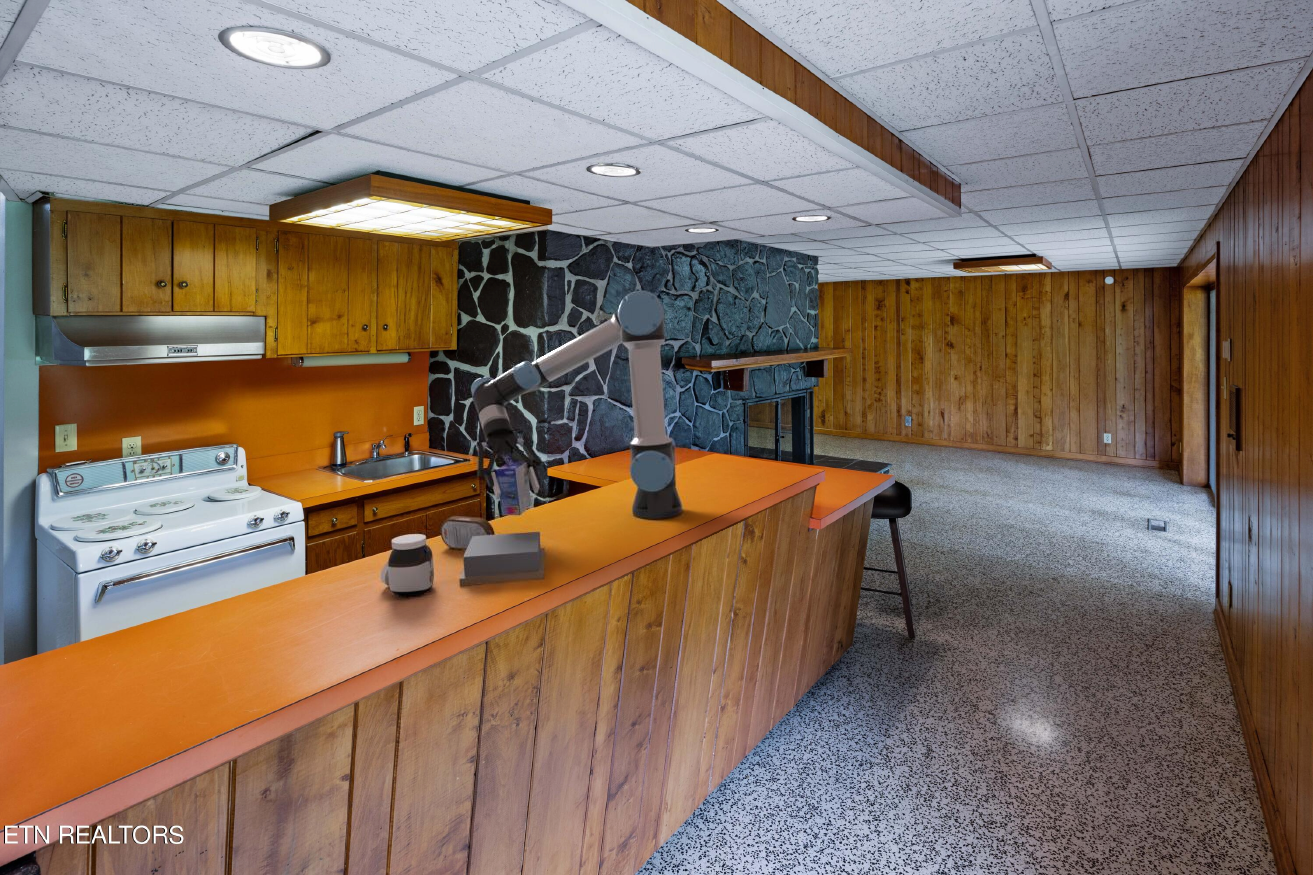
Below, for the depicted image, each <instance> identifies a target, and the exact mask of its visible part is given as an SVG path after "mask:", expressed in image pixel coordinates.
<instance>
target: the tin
mask: <svg viewBox="0 0 1313 875" xmlns="http://www.w3.org/2000/svg"><path fill="white" fill-rule="evenodd" d="M439 531H440V536H441V540H442V541H443V543H444V545H446V546H447V547H448V548H450V549H452V548H453V550H460V549H463V550H462V551H466V550H467V547H468V545H469V543H470V541H471V538H472V536H484V535H496V534H495V530H494V528H493V526H492V524H491V523H490V522H489V521H488V520H486V518H485V519H484V518H482V517H475V516H473V517H472V516H465V515H464V516H463V515H461V516H460V515H452V516H450V517H449V518H447V519H446V520H444V521H443V522H442V523H441V525H440V530H439Z"/></svg>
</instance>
